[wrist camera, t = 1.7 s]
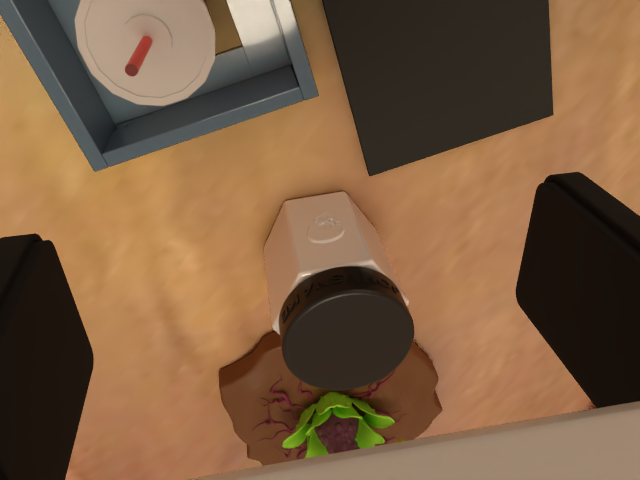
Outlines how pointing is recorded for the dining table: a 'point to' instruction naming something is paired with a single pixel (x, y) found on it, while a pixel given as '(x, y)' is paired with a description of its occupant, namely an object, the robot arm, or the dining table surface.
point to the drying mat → (440, 72)
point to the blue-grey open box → (176, 118)
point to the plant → (323, 407)
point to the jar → (334, 295)
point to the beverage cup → (147, 47)
